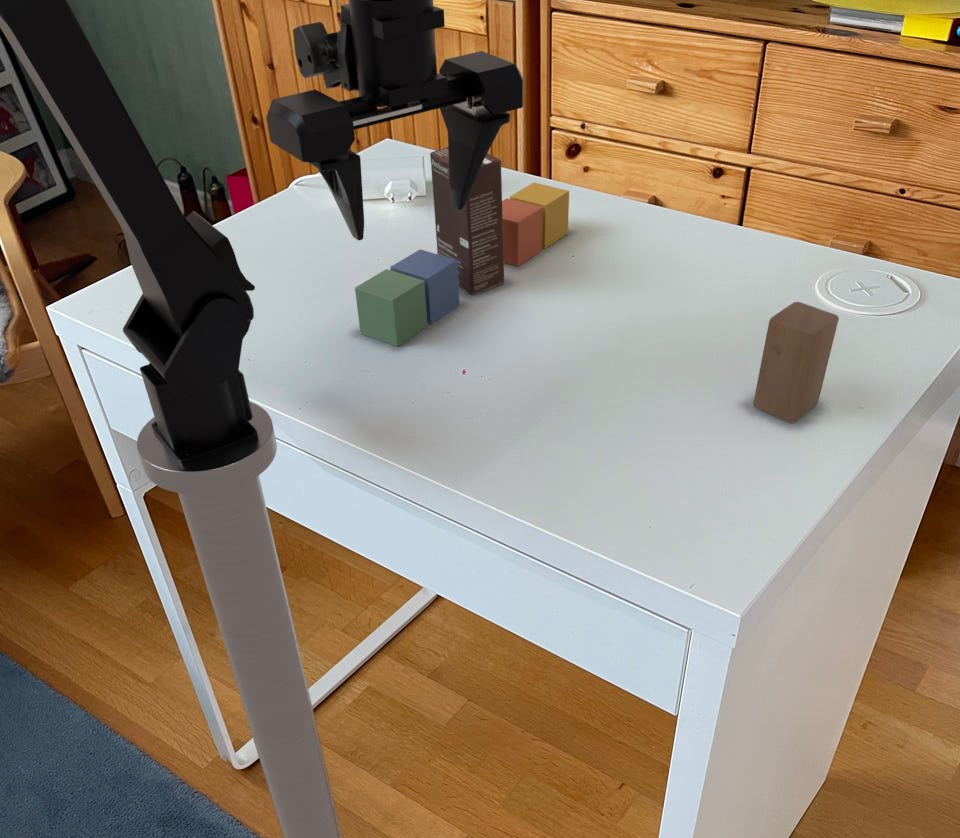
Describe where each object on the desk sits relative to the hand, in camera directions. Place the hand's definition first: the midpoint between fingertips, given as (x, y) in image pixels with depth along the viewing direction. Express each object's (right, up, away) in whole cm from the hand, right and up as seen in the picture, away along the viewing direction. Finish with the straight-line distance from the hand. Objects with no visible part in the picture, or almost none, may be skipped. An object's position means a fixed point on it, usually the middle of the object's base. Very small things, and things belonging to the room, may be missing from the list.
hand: (408, 223), depth 77 cm
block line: (+5, +3, +21) cm, 22 cm away
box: (+5, +3, +22) cm, 22 cm away
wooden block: (+31, -14, +4) cm, 34 cm away
